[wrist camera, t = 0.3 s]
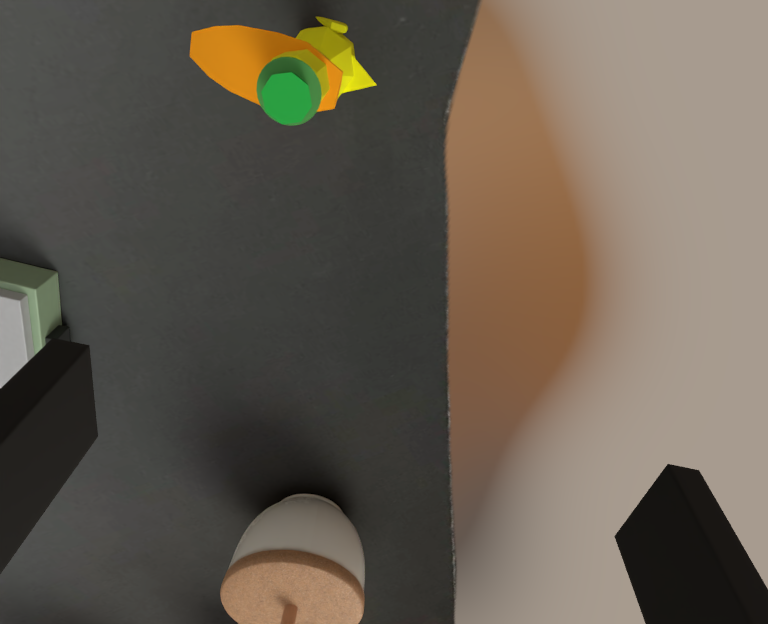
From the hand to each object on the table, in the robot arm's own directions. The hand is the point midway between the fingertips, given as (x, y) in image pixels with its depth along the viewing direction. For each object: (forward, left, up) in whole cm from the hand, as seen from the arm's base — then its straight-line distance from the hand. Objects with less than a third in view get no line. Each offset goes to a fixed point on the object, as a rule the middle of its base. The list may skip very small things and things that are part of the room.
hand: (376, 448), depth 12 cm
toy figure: (-5, -6, -21) cm, 22 cm away
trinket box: (+31, 0, -21) cm, 37 cm away
